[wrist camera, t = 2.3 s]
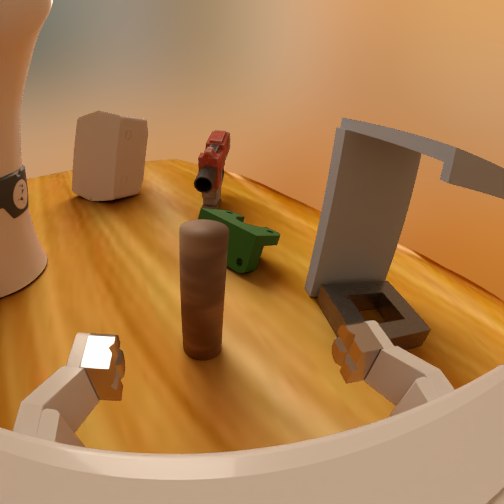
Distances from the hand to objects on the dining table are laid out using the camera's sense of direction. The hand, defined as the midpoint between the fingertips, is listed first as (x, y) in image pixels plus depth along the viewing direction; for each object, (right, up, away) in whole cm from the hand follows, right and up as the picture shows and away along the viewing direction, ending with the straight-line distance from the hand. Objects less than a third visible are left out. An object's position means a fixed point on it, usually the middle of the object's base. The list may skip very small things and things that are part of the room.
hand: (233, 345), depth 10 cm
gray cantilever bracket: (+14, -5, +22) cm, 27 cm away
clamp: (-2, +3, +34) cm, 34 cm away
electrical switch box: (-32, +18, +55) cm, 66 cm away
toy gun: (-8, +13, +52) cm, 54 cm away
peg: (-4, -6, +17) cm, 18 cm away
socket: (+14, -5, +22) cm, 27 cm away
